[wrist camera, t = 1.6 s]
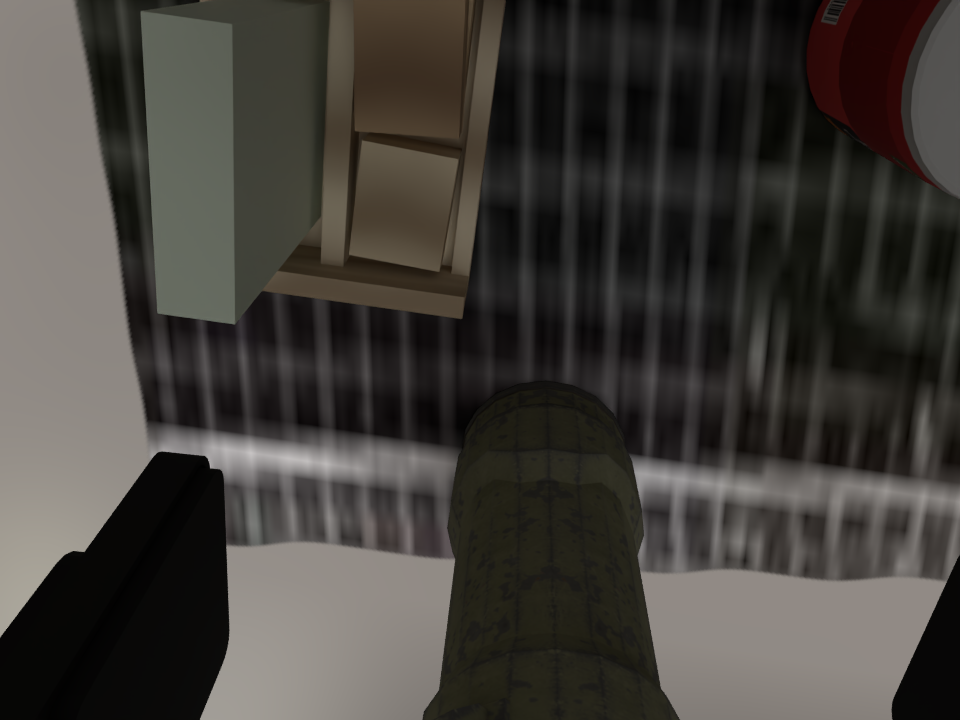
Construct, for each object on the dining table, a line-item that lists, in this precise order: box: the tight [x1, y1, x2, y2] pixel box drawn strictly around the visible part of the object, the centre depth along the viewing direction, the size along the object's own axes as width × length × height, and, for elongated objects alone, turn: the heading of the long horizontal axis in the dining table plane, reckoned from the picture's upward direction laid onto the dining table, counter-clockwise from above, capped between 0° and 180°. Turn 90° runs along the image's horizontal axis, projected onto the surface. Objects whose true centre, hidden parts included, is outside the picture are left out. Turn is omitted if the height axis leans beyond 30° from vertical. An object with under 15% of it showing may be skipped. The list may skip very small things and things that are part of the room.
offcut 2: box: [349, 132, 462, 272], centre depth 35 cm, size 5×4×2 cm
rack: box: [200, 0, 506, 319], centre depth 34 cm, size 14×11×4 cm
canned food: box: [807, 0, 960, 199], centre depth 28 cm, size 8×8×11 cm
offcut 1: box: [353, 0, 469, 139], centre depth 31 cm, size 5×4×2 cm
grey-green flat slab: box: [141, 0, 330, 324], centre depth 29 cm, size 9×2×12 cm, turn 173°
